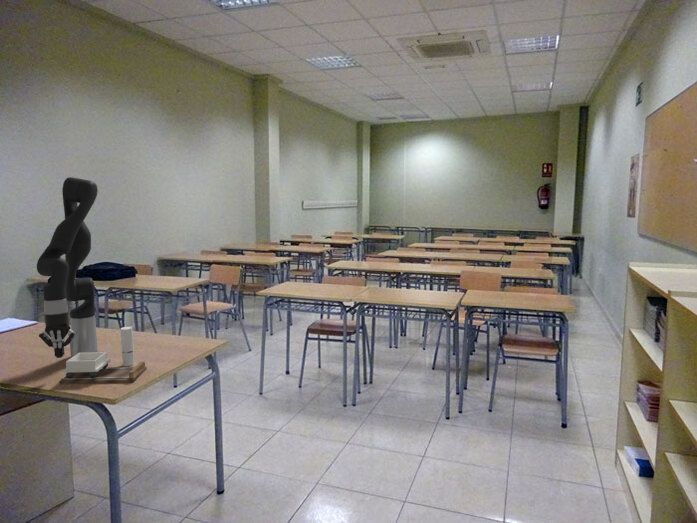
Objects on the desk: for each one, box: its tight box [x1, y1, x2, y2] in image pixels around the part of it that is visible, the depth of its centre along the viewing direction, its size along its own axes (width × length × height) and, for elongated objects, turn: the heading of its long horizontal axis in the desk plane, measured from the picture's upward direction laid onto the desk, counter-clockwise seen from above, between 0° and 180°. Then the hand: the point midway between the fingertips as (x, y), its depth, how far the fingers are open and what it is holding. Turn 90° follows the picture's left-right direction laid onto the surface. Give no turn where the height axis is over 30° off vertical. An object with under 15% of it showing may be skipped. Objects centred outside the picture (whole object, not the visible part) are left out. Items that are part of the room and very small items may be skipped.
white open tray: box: [62, 351, 111, 378], centre depth 185 cm, size 12×12×6 cm
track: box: [58, 361, 147, 385], centre depth 186 cm, size 26×14×3 cm, turn 94°
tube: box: [120, 326, 135, 367], centre depth 198 cm, size 4×4×15 cm
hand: (59, 357), depth 184 cm, fingers closed
